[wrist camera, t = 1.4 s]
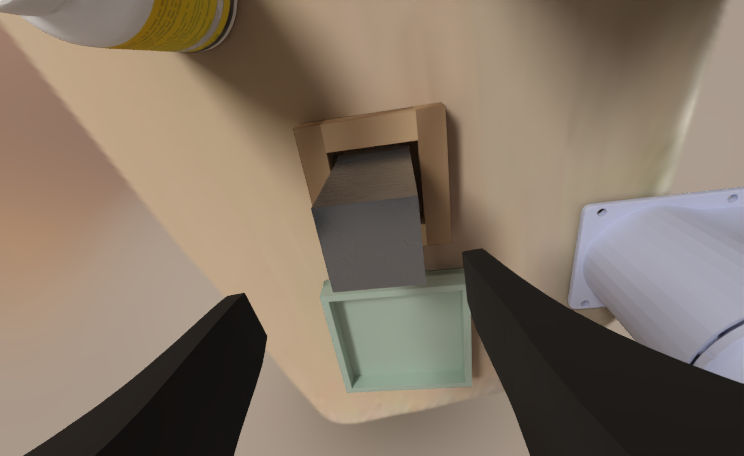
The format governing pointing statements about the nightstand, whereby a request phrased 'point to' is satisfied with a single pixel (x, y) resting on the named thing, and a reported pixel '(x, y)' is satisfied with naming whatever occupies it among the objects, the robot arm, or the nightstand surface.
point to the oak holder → (382, 130)
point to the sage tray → (402, 334)
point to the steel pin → (371, 221)
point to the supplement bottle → (131, 22)
